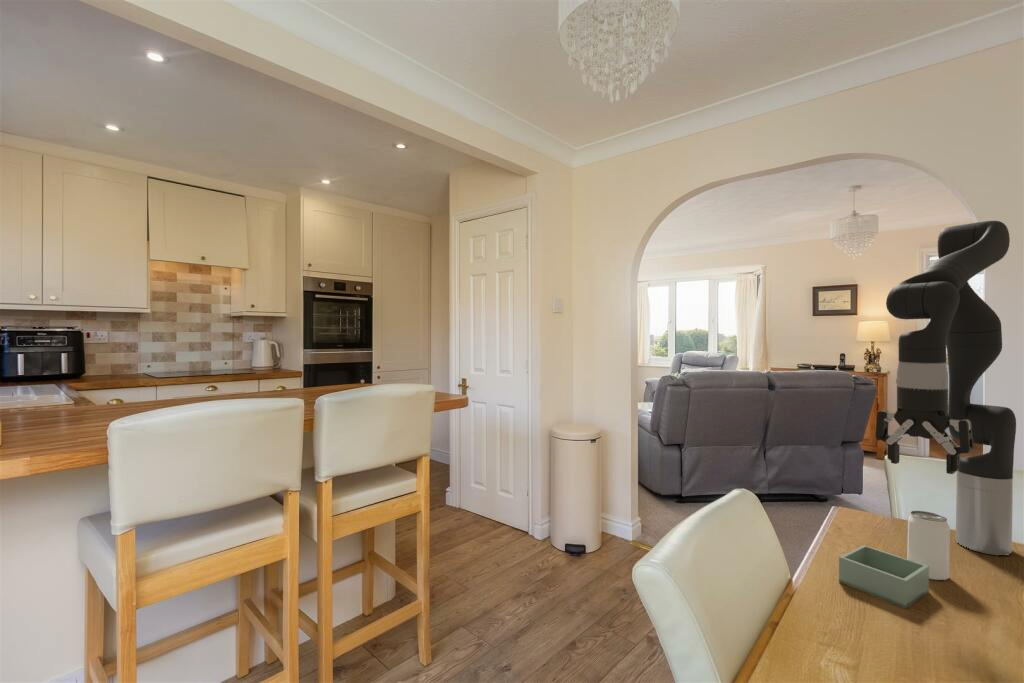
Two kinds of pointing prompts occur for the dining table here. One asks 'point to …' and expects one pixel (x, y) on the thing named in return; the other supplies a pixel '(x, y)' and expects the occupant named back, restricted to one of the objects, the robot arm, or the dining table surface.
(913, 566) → the bin
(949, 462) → the robot arm
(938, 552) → the can
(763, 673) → the dining table surface
